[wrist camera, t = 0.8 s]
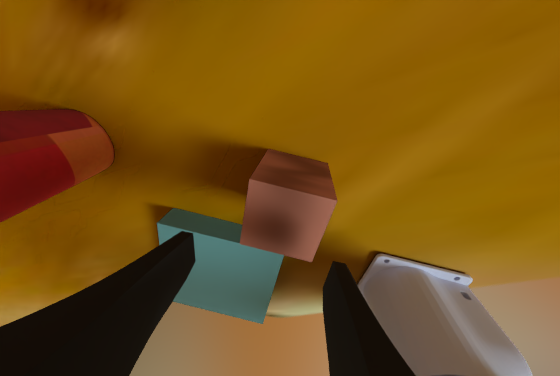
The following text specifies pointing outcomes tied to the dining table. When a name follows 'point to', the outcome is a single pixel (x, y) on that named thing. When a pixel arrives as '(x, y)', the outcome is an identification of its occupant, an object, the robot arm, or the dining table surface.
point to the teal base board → (223, 267)
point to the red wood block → (288, 205)
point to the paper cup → (47, 155)
